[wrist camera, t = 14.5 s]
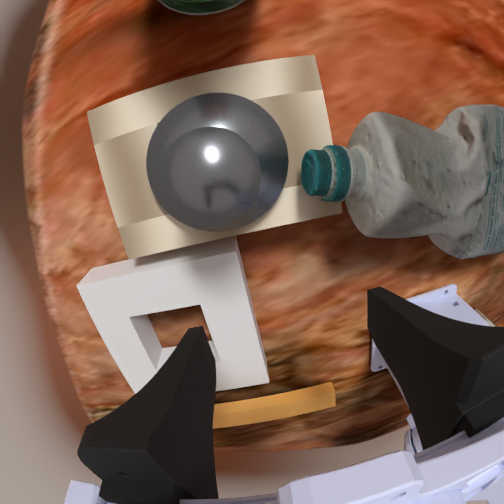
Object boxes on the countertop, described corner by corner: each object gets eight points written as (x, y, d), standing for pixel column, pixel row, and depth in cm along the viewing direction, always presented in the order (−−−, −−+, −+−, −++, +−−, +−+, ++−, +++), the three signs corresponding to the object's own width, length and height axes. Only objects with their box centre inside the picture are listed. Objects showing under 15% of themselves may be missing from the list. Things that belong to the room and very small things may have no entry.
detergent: (523, 124, 19) (294, 53, 16) (575, 141, 12) (339, 28, 9) (500, 241, 25) (283, 246, 22) (543, 273, 18) (312, 308, 15)
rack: (303, 65, 18) (314, 54, 15) (328, 202, 21) (342, 213, 19) (105, 113, 18) (86, 111, 15) (141, 243, 22) (129, 259, 19)
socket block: (235, 235, 22) (236, 251, 19) (266, 359, 26) (269, 382, 24) (91, 268, 22) (76, 285, 19) (144, 376, 27) (138, 398, 24)
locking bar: (331, 381, 23) (335, 392, 22) (332, 396, 24) (335, 406, 23) (158, 409, 23) (156, 419, 22) (167, 421, 24) (165, 431, 23)
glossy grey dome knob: (269, 91, 18) (296, 63, 10) (286, 204, 21) (319, 255, 13) (151, 113, 18) (95, 106, 10) (174, 223, 21) (140, 284, 13)
